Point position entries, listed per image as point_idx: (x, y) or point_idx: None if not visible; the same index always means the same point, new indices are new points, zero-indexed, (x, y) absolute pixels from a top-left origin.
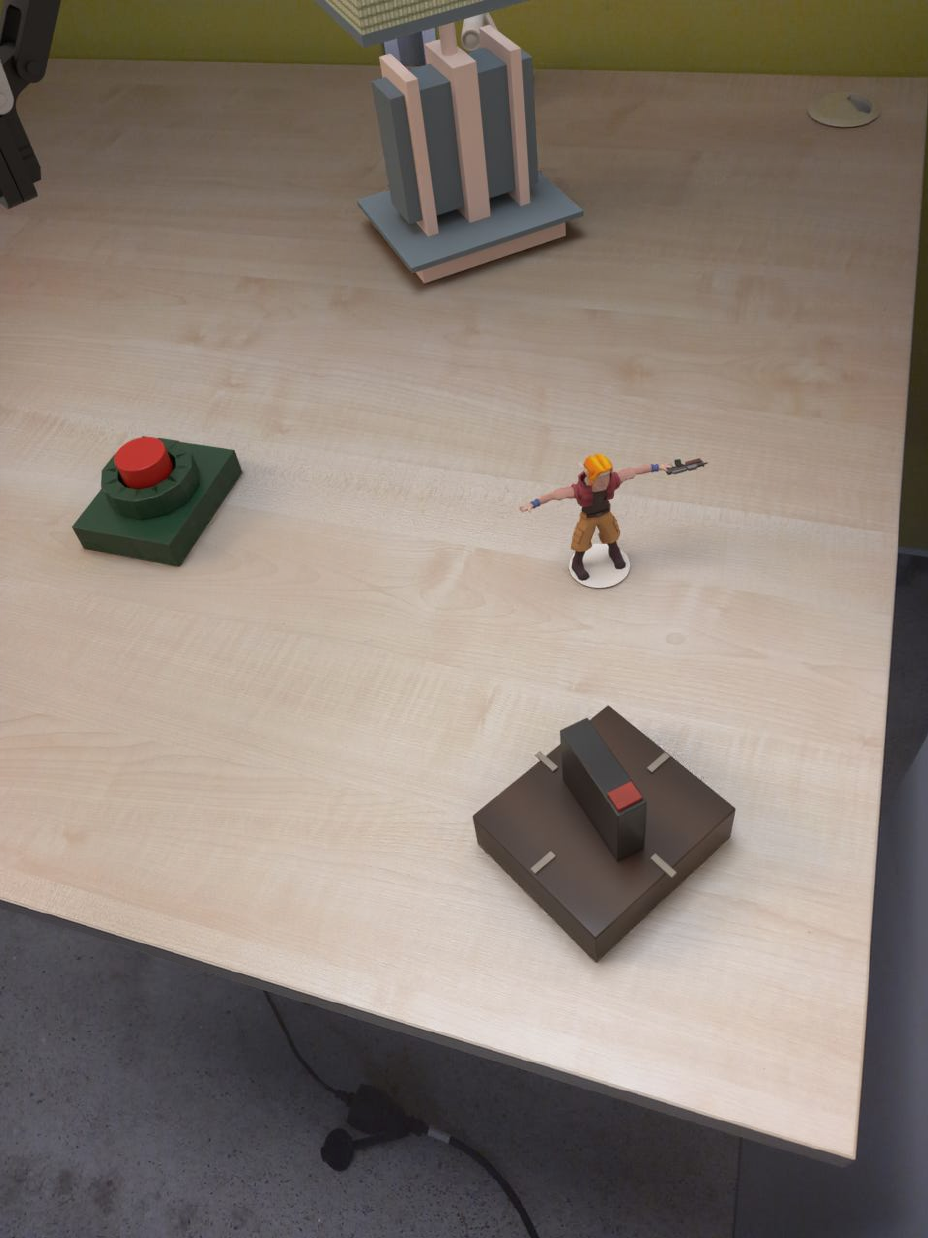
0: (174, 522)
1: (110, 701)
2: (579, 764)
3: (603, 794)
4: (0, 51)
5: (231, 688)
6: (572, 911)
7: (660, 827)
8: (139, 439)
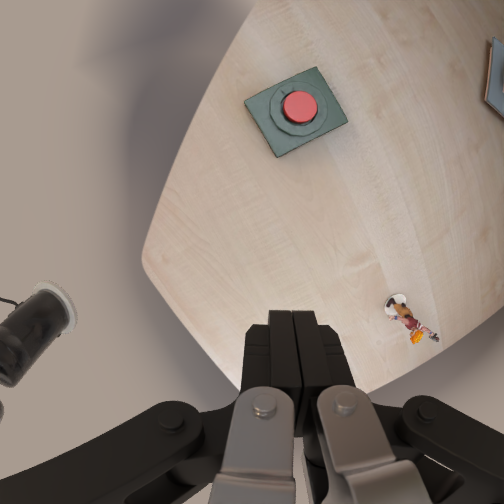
0: (289, 144)
1: (204, 209)
2: None
3: None
4: (397, 456)
5: (250, 245)
6: None
7: None
8: (307, 95)
